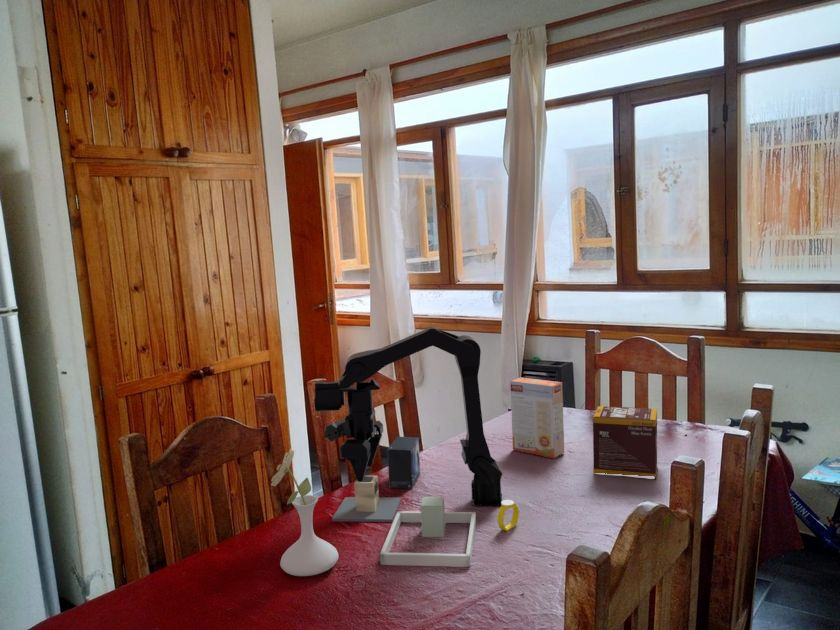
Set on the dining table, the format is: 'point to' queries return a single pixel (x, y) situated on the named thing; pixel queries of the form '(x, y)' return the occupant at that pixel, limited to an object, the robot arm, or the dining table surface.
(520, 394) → the cracker box
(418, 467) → the small box
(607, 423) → the supplement box
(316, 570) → the flower in vase
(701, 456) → the dining table surface
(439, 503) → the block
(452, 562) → the white square frame
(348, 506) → the mat
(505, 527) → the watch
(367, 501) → the labelled block
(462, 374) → the robot arm
